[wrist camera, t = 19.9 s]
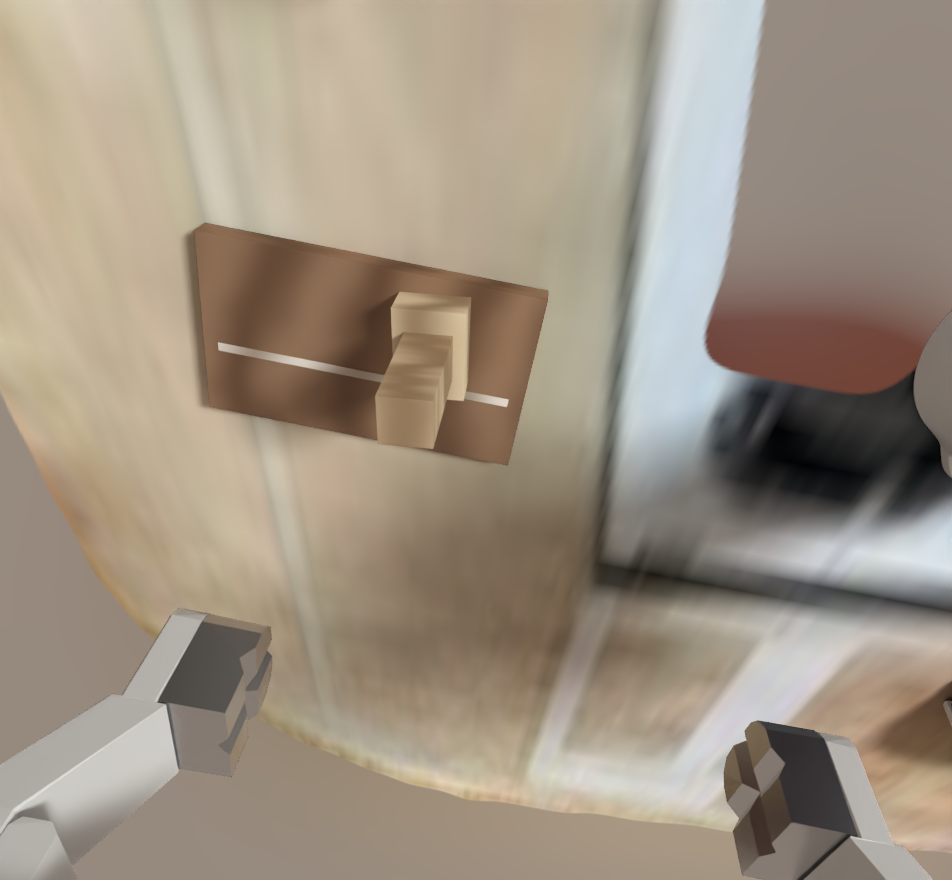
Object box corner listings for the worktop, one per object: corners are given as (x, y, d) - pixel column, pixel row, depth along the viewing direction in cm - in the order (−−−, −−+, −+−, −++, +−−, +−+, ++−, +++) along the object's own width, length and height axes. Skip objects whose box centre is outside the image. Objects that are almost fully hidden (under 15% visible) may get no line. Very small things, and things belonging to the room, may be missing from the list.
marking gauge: (471, 297, 41) (448, 376, 33) (468, 381, 44) (446, 472, 36) (399, 291, 41) (358, 369, 33) (401, 375, 45) (365, 464, 36)
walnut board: (548, 290, 42) (547, 300, 40) (509, 453, 49) (507, 465, 48) (205, 222, 42) (193, 230, 40) (218, 396, 49) (209, 407, 48)
